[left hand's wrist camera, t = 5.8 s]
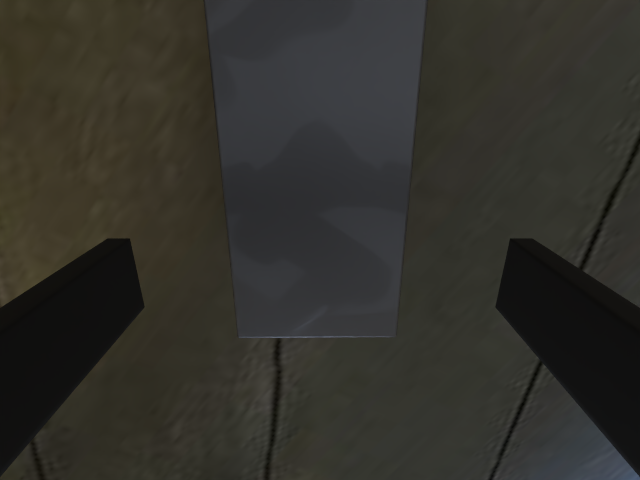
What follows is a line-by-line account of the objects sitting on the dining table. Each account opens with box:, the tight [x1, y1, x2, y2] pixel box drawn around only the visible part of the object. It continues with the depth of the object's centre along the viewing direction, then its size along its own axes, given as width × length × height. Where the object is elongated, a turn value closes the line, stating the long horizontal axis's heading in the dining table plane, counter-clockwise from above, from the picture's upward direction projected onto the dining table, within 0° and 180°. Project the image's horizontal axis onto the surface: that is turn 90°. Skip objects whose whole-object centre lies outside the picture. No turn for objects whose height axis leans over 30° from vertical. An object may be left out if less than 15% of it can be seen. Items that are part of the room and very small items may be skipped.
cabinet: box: [204, 0, 428, 338], centre depth 17 cm, size 18×7×11 cm, turn 0°
